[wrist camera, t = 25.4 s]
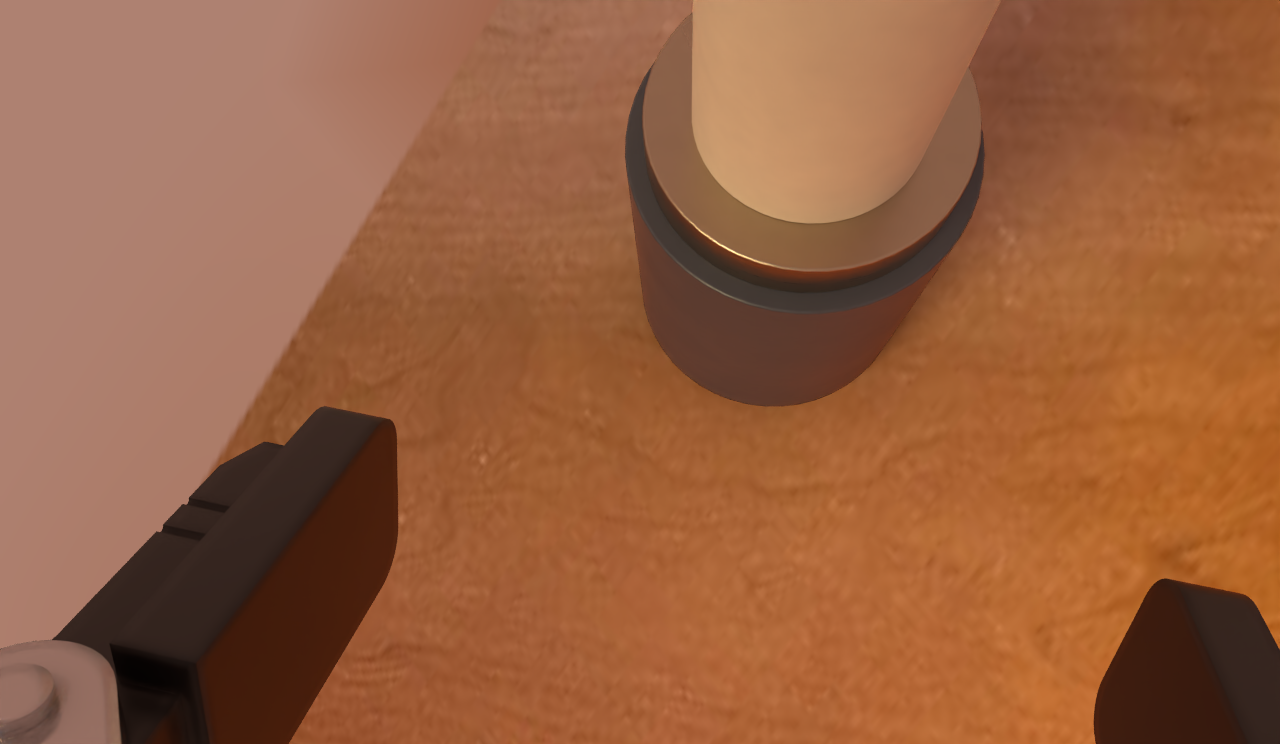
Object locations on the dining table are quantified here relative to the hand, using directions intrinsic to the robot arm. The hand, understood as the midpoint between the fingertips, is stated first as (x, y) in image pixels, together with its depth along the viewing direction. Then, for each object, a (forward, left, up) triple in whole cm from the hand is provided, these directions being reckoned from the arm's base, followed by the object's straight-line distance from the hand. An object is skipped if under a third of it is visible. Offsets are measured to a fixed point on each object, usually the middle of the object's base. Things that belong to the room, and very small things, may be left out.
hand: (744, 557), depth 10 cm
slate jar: (0, +11, -22) cm, 25 cm away
